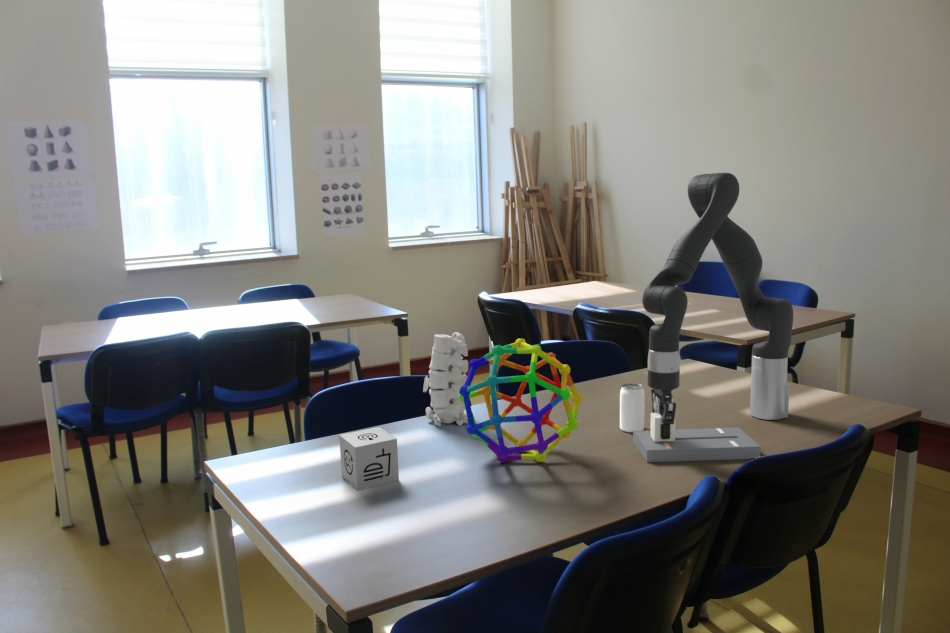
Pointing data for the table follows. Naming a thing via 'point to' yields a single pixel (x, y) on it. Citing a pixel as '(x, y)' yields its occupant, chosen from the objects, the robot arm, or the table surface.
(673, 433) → the fader cap
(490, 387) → the geometric model
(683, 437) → the slide board
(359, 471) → the icon cube
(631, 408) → the can
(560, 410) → the table surface
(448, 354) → the anatomical model
